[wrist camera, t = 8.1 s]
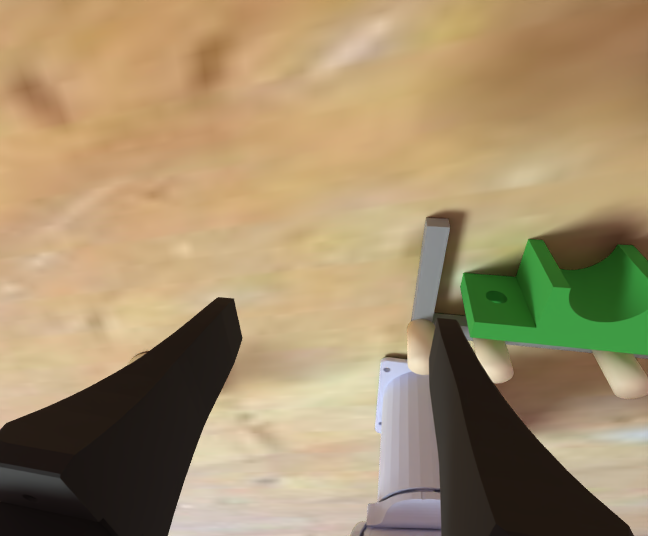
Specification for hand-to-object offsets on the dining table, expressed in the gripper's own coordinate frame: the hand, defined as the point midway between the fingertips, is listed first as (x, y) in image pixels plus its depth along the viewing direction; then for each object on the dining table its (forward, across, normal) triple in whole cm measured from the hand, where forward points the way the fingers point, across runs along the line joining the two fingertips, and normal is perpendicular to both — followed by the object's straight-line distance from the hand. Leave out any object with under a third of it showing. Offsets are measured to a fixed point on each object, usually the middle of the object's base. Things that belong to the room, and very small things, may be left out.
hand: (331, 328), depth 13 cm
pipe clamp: (+10, -12, +4) cm, 16 cm away
